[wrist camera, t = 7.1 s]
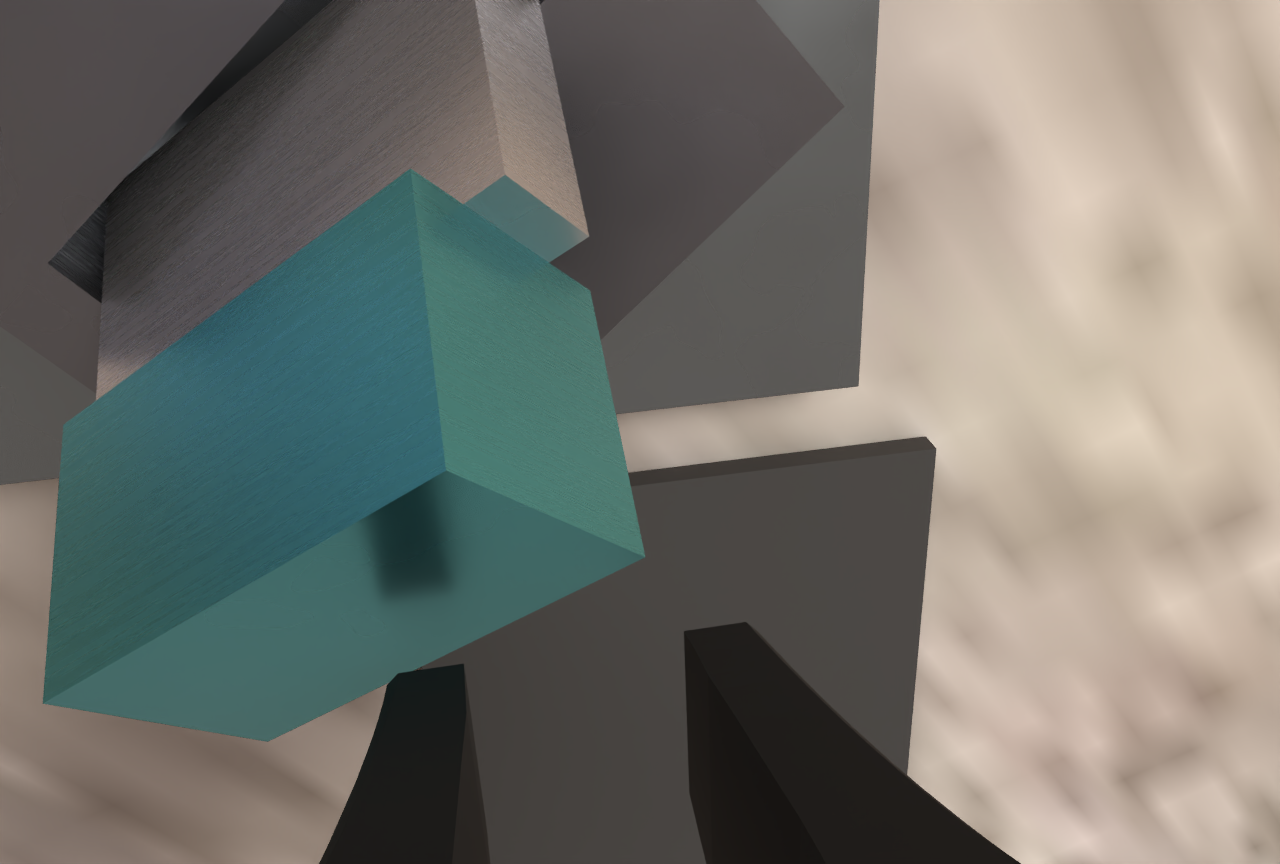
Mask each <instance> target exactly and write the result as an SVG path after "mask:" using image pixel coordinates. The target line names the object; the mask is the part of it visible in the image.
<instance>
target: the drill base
mask: <svg viewBox="0 0 1280 864" xmlns="http://www.w3.org/2000/svg"><path fill="white" fill-rule="evenodd" d="M331 1H333V0H285V1H284V2H283V3H282V4H281V5H280V6H279V7H278V8H277V9H276V11H275V12H274V13H273V14H272V15H271V16H270V17H269V18H268V19H267V21H266V22H265V23H264V24H263V25H262V26H261V27H260V28H259V29H258V31H257V32H256V33H255V34H254V35H253V36H252V37H251V38H250V39H249V41H248V42H247V43H246V44H245V45H244V46H243V47H242V48H241V49H240V51H239V52H238V53H237V54H236V55H235V56H234V57H233V58H232V59H231V60H230V62H229V63H228V64H227V65H226V66H225V67H224V68H223V69H222V70H221V72H220V73H219V74H218V75H217V76H216V77H215V78H214V79H213V80H212V82H211V83H210V84H209V85H208V86H207V87H206V88H205V89H204V90H203V92H202V93H201V94H200V95H199V96H198V97H197V98H196V99H195V100H194V101H193V103H192V104H191V105H190V106H189V107H188V108H187V109H186V110H185V111H184V113H183V114H182V115H181V116H180V117H179V118H178V119H177V120H176V121H175V123H174V124H173V125H172V126H171V127H170V128H169V129H168V130H167V131H166V133H165V134H164V135H163V136H162V137H161V138H160V139H159V140H158V141H157V142H156V144H155V145H154V146H153V147H152V148H151V149H150V150H149V151H148V152H147V154H146V155H145V156H144V157H143V158H142V159H141V160H140V161H139V162H138V164H137V165H136V166H135V167H134V168H133V169H132V170H131V171H130V172H129V174H130V173H131V172H132V171H134V170H135V169H136V168H137V167H138V166H139V165H141V164H142V163H143V162H144V161H145V160H146V159H148V158H149V157H150V156H151V155H152V154H153V153H155V152H156V151H157V150H158V149H159V148H160V147H162V146H163V145H164V144H165V143H166V142H168V141H169V140H170V139H171V138H172V137H173V136H175V135H176V134H177V133H178V132H179V131H180V130H182V129H183V128H184V127H185V126H186V125H187V124H189V123H190V122H191V121H192V120H193V119H194V118H196V117H197V116H198V115H199V114H200V113H201V112H203V111H204V110H205V109H206V108H207V107H208V106H210V105H211V104H212V103H213V102H214V101H216V100H217V99H218V98H219V97H220V96H221V95H223V94H224V93H225V92H226V91H227V90H228V89H230V88H231V87H232V86H233V85H234V84H235V83H237V82H238V81H239V80H240V79H241V78H242V77H244V76H245V75H246V74H247V73H248V72H249V71H251V70H252V69H253V68H254V67H255V66H256V65H258V64H259V63H260V62H261V61H262V60H264V59H265V58H266V57H267V56H268V55H269V54H271V53H272V52H273V51H274V50H275V49H276V48H278V47H279V46H280V45H281V44H282V43H283V42H285V41H286V40H287V39H288V38H289V37H290V36H292V35H293V34H294V33H295V32H296V31H297V30H299V29H300V28H301V27H302V26H303V25H304V24H306V23H307V22H308V21H309V20H310V19H311V18H313V17H314V16H315V15H316V14H317V13H319V12H320V11H321V10H322V9H323V8H324V7H326V6H327V5H328V4H329V3H330V2H331ZM756 1H757V2H758V3H759V4H760V5H761V7H762V8H763V9H764V10H765V11H766V13H767V14H768V15H769V16H770V17H771V19H772V20H773V21H774V22H775V23H776V25H777V26H778V27H779V28H780V29H781V31H782V32H783V33H784V34H785V35H786V37H787V38H788V39H789V40H790V42H791V43H792V44H793V45H794V46H795V48H796V49H797V50H798V51H799V52H800V54H801V55H802V56H803V57H804V58H805V60H806V61H807V62H808V63H809V64H810V66H811V67H812V68H813V69H814V70H815V72H816V73H817V74H818V75H819V76H820V78H821V79H822V80H823V81H824V82H825V84H826V85H827V86H828V87H829V88H830V90H831V91H832V92H833V93H834V94H835V96H836V97H837V98H838V99H839V100H840V102H841V103H842V104H843V105H844V106H845V107H844V108H843V109H842V110H841V111H840V112H839V113H838V114H836V115H835V116H834V117H833V118H832V119H831V120H830V121H829V122H828V123H827V124H826V125H825V126H824V127H823V128H822V129H821V130H820V131H819V132H818V133H817V134H816V135H815V136H814V137H812V138H811V139H810V140H809V141H808V142H807V143H806V144H805V145H804V146H803V147H802V148H801V149H800V150H799V151H798V152H797V153H796V154H795V155H794V156H793V157H792V158H791V159H789V160H788V161H787V162H786V163H785V164H784V165H783V166H782V167H781V168H780V169H779V170H778V171H777V172H776V173H775V174H774V175H773V176H772V177H771V178H770V179H769V180H768V181H766V182H765V183H764V184H763V185H762V186H761V187H760V188H759V189H758V190H757V191H756V192H755V193H754V194H753V195H752V196H751V197H750V198H749V199H748V200H747V201H746V202H745V203H743V204H742V205H741V206H740V207H739V208H738V209H737V210H736V211H735V212H734V213H733V214H732V215H731V216H730V217H729V218H728V219H727V220H726V221H725V222H724V223H723V224H722V225H721V226H719V227H718V228H717V229H716V230H715V231H714V232H713V233H712V234H711V235H710V236H709V237H708V238H707V239H706V240H705V241H704V242H703V243H702V244H701V245H700V246H699V247H698V248H696V249H695V250H694V251H693V252H692V253H691V254H690V255H689V256H688V257H687V258H686V259H685V260H684V261H683V262H682V263H681V264H680V265H679V266H678V267H677V268H676V269H675V270H673V271H672V272H671V273H670V274H669V275H668V276H667V277H666V278H665V279H664V280H663V281H662V282H661V283H660V284H659V285H658V286H657V287H656V288H655V289H654V290H653V291H652V292H650V293H649V294H648V295H647V296H646V297H645V298H644V299H643V300H642V301H641V302H640V303H639V304H638V305H637V306H636V307H635V308H634V309H633V310H632V311H631V312H630V313H629V314H627V315H626V316H625V317H624V318H623V319H622V320H621V321H620V322H619V323H618V324H617V325H616V326H615V327H614V328H613V329H612V330H611V331H610V332H609V333H608V334H607V335H606V336H605V337H603V338H602V339H601V345H602V350H603V355H604V360H605V365H606V369H607V374H608V379H609V384H610V389H611V394H612V398H613V403H614V408H615V413H616V414H621V413H630V412H639V411H647V410H656V409H665V408H674V407H682V406H691V405H700V404H708V403H717V402H726V401H735V400H743V399H752V398H761V397H769V396H778V395H787V394H796V393H804V392H813V391H822V390H831V389H839V388H848V387H857V386H858V384H859V366H860V348H861V329H862V311H863V293H864V274H865V256H866V238H867V219H868V201H869V183H870V164H871V146H872V128H873V109H874V91H875V73H876V54H877V36H878V18H879V0H756ZM129 174H128V175H129ZM128 175H127V176H128ZM127 176H126V177H127ZM107 198H108V197H107ZM95 401H96V393H94V392H93V391H92V390H90V389H89V388H87V387H86V386H84V385H83V384H82V383H80V382H79V381H77V380H76V379H74V378H73V377H72V376H70V375H69V374H67V373H66V372H64V371H63V370H62V369H60V368H59V367H57V366H56V365H54V364H53V363H52V362H50V361H49V360H47V359H46V358H44V357H43V356H42V355H40V354H39V353H37V352H36V351H34V350H33V349H32V348H30V347H29V346H27V345H26V344H24V343H23V342H22V341H20V340H19V339H17V338H16V337H14V336H13V335H12V334H10V333H9V332H7V331H6V330H4V329H3V328H2V327H0V485H2V484H11V483H19V482H28V481H37V480H46V479H54V478H59V477H60V463H61V450H62V436H63V424H65V423H66V422H68V421H69V420H70V419H72V418H73V417H74V416H76V415H77V414H78V413H80V412H81V411H82V410H84V409H85V408H87V407H88V406H89V405H91V404H92V403H93V402H95Z"/></svg>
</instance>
